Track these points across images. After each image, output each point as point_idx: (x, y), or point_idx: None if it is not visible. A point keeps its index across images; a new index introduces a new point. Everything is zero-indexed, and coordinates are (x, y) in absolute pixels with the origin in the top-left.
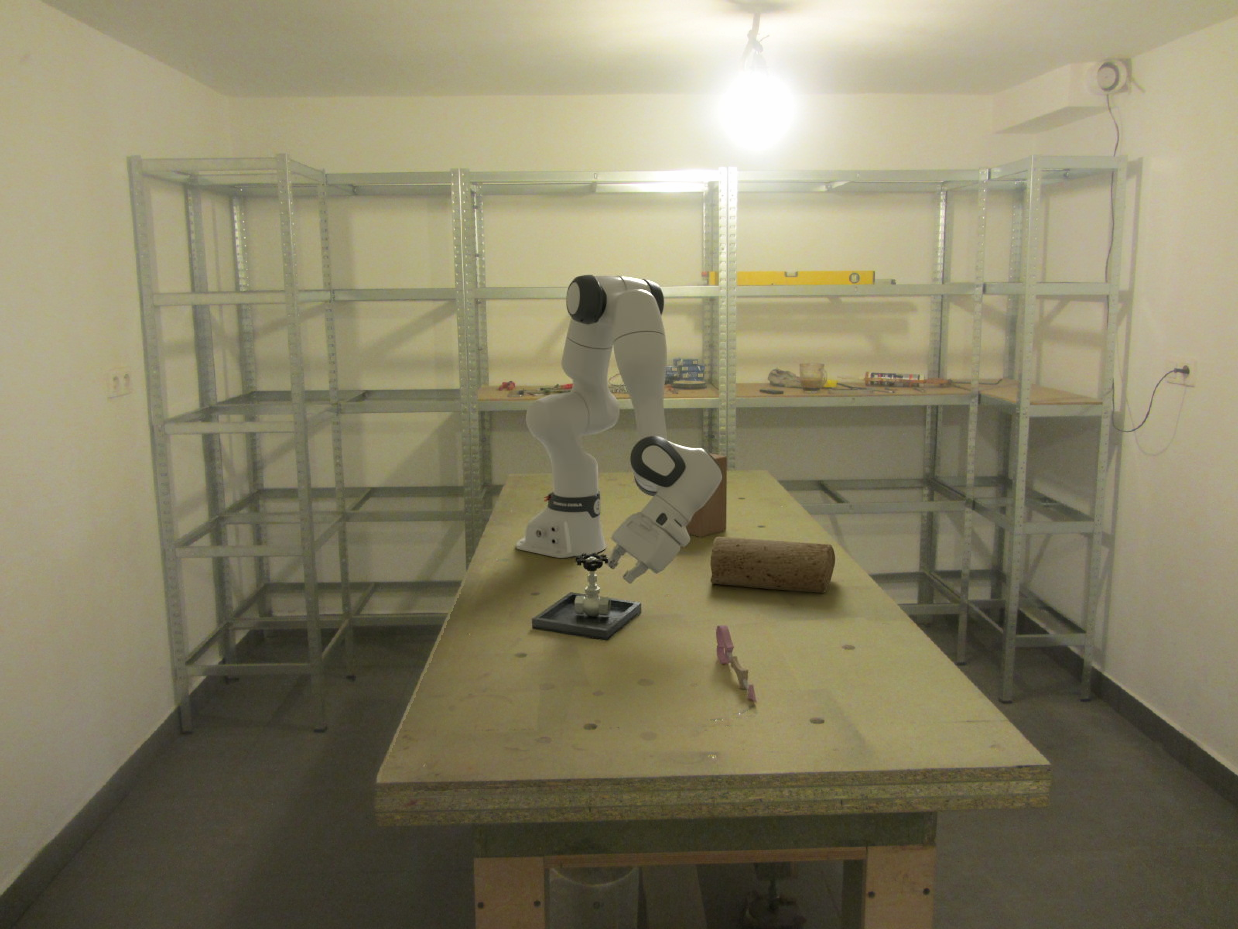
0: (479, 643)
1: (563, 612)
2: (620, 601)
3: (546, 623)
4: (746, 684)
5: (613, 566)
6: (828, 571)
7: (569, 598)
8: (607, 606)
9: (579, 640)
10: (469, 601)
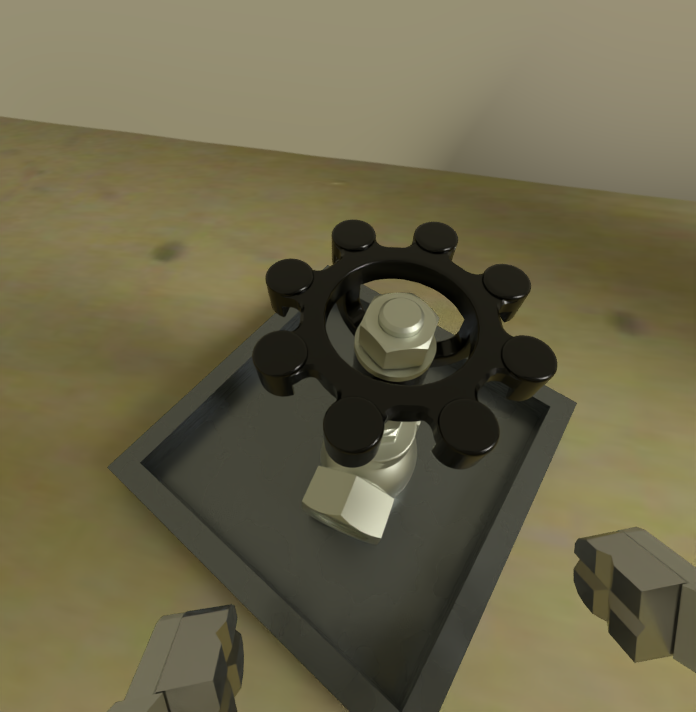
0: (276, 194)
1: None
2: (445, 620)
3: None
4: None
5: (592, 595)
6: None
7: None
8: (305, 508)
9: (186, 390)
10: (546, 191)
